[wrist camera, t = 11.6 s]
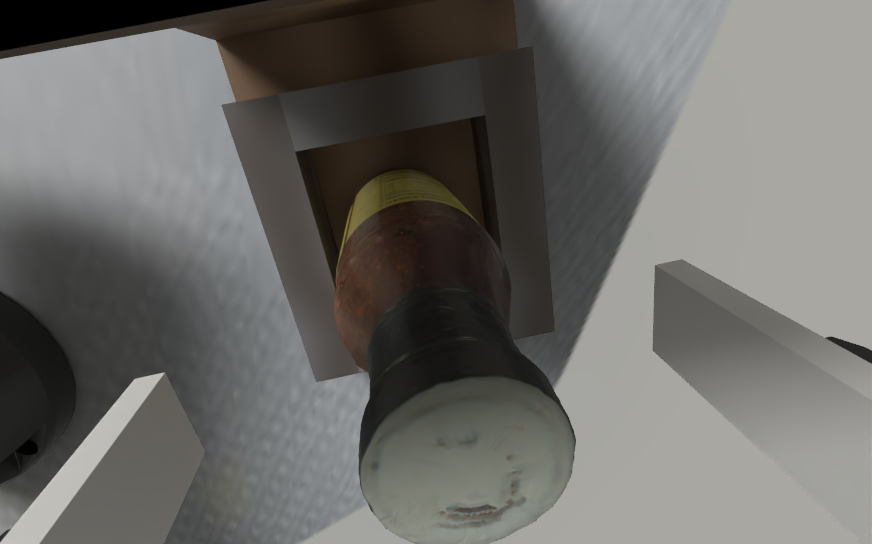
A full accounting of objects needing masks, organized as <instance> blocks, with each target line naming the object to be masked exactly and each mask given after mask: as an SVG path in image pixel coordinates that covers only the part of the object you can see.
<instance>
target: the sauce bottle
mask: <svg viewBox="0 0 872 544" xmlns="http://www.w3.org/2000/svg"><path fill="white" fill-rule="evenodd" d="M334 295H335V300H334V316H335V321H336V325H337V329H338V332H339V335H340V338H341V341H342V343H343V345H344V346H345V348H346V349H347V350H348V351H349V352H350V354H351V356H352V358H353V359H354V360H355V363H356V365H357V366H358V367H360V368H362V369H363V370H364V371H365V372H368V373H369V377H370V399H369V401H368V403H367V406H366V408H365V412H364V415H363V419H362V422H361V432H360V444H359V476H360V485H361V489H362V492H363V495H364V498H365V499H366V501H367V502H368V504H369V507H370V509H371V511H372V512H373V513H374V515H375V516H376V517H377V518H378V519H379V521H380V522H381V523H382V524H383V525H384V527H385V528H386V529H388V530H389V531H391V532H392V533H394V534H396V535H398V536H399V537H401V538H403V539H406V540H408V541H410V542H413V543H415V544H489V543H491V542H494V541H497V540H499V539H502V538H505V537H506V536H508V535H510V534H512V533H513V532H515V531H517V530H519V529H521V528H523V527H525V526H527V525H529V524H531V523H533V522H534V521H536V520H537V519H538V518H539V517H540V516H541V515H542V514H544V513H545V512H546V511H548V510H549V509H550V508H551V507H553V505H554V504H555V503H556V502H557V500H558V499H559V498H560V496H561V495H562V493H563V491H564V490H565V488H566V486H567V483H568V481H569V479H570V477H571V473H572V465H573V461H574V451H575V444H576V439H575V435H574V430H573V428H572V425H571V423H570V420H569V417H568V415H567V414H566V412H565V410H564V409H563V407H562V405H561V403H560V400H559V398H558V397H557V396H556V394H555V392H554V390H553V388H552V386H551V384H550V382H549V380H548V379H547V377H546V376H545V375H544V373H543V372H542V371H541V370H540V369H539V368H538V367H537V366H536V365H535V364H534V363H533V362H531V361H530V360H529V359H528V358H527V357H525V356H524V355H522V354H521V353H520V351H519V349H518V348H517V347H516V346H515V344H514V342H513V340H512V335H511V332H510V329H509V324H510V310H511V281H510V275H509V271H508V268H507V266H506V263H505V261H504V258H503V256H502V253H501V251H500V250H499V248H498V247H497V245H496V243H495V242H494V240H493V239H492V238H491V236H490V235H489V234H488V233H487V232H486V230H485V229H484V228H483V227H482V226H481V225H480V224H479V223H478V222H477V221H476V220H475V219H474V217H473V216H472V215H471V214H470V213H469V212H468V211H467V210H466V208H465V207H464V206H463V205H462V204H461V203H460V202H459V201H458V199H456V198H455V197H454V196H453V195H452V193H451V192H450V191H449V190H448V189H447V188H446V187H445V186H444V185H443V184H442V183H441V182H439V181H438V180H437V179H435V178H434V177H432V176H430V175H428V174H426V173H424V172H421V171H417V170H414V169H400V170H390V171H385V172H382V173H381V174H380V175H379V176H377V177H375V178H374V179H372V180H371V181H369V182H368V183H367V184H366V185H365V186H364V187H363V188H362V189H361V190H360V191H359V193H358V194H357V195H356V198H355V200H354V204H352V206H351V209H350V212H349V215H348V219H347V224H346V228H345V232H344V237H343V242H342V247H341V250H340V255H339V260H338V265H337V270H336V289H335V293H334Z"/></svg>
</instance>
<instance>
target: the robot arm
mask: <svg viewBox="0 0 872 544" xmlns="http://www.w3.org/2000/svg"><path fill="white" fill-rule="evenodd" d="M653 351H654V352H655V353H656V354H657V355H658V356H660V357H661V358H662V359H663V360H664V361H665V362H666V363H667V364H668V365H669V366H670V367H671V368H672V369H673V370H675V371H676V372H677V373H678V374H679V375H680V376H681V377H682V378H683V379H684V380H685V381H687V383H689V384H690V385H691V386H692V387H693V388H694V389H695V390H696V391H697V392H698V393H700V395H701V396H703V397H704V398H705V399H706V400H707V401H708V402H709V403H710V404H711V405H712V406H713V407H714V408H715V409H717V410H718V411H719V412H720V413H721V414H722V415H723V416H724V417H725V418H726V419H727V420H728V421H729V422H730V423H732V424H733V425H734V426H735V427H736V428H737V429H738V430H739V431H740V432H741V433H742V434H743V435H744V436H745V437H747V438H748V439H749V440H750V441H751V442H752V443H753V444H754V445H755V446H756V447H757V448H758V449H759V450H761V451H762V452H763V453H764V454H765V455H766V456H767V457H768V458H769V459H770V460H771V461H772V462H773V463H774V464H776V465H777V466H778V467H779V468H780V469H781V470H782V471H783V472H784V473H785V474H786V475H788V476H789V477H790V478H791V479H792V480H793V481H794V482H795V483H796V484H797V485H798V486H799V487H800V488H801V489H802V490H804V491H805V492H806V493H807V494H808V495H809V496H810V497H811V498H812V499H813V500H814V501H815V502H816V503H817V504H819V505H820V506H821V507H822V508H823V509H824V510H825V511H826V512H827V513H828V514H829V515H830V516H832V517H833V518H834V519H835V520H836V521H837V522H838V523H839V524H840V525H841V526H842V527H843V528H844V529H845V530H846V531H848V532H849V533H850V534H851V535H852V536H853V537H854V538H855V539H856V540H857V541H858V542H859V543H861V544H872V351H871V350H869V349H867V348H865V347H862V346H859V345H856V344H853V343H850V342H847V341H844V340H841V339H837V338H834V337H827V338H824V337H822V336H820V335H818V334H817V333H815V332H813V331H811V330H809V329H807V328H805V327H803V326H802V325H800V324H798V323H797V322H795V321H793V320H791V319H789V318H787V317H786V316H784V315H782V314H780V313H778V312H777V311H775V310H773V309H771V308H769V307H767V306H766V305H764V304H762V303H760V302H758V301H757V300H755V299H753V298H751V297H749V296H747V295H746V294H744V293H742V292H740V291H738V290H737V289H735V288H733V287H731V286H729V285H727V284H726V283H724V282H722V281H720V280H718V279H716V278H714V277H713V276H711V275H709V274H707V273H705V272H704V271H702V270H700V269H698V268H696V267H695V266H693V265H691V264H689V263H687V262H686V261H684V260H677V261H672V262H668V263H664V264H659V265H655V286H654V324H653ZM74 405H75V386H74V380H73V376H72V373H71V370H70V367H69V365H68V362H67V360H66V358H65V356H64V354H63V353H62V351H61V349H60V348H59V346H58V345H57V343H56V342H55V341H54V339H53V338H52V337H51V336H50V334H49V333H48V332H47V331H46V330H45V329H44V328H43V327H42V326H41V325H40V324H39V323H38V322H37V321H36V320H35V319H34V318H33V317H32V316H31V315H29V314H28V313H27V312H26V311H24V310H23V309H22V308H21V307H19V306H18V305H16V304H15V303H14V302H12V301H10V300H9V299H7V298H6V297H4V296H3V295H1V294H0V487H1V486H3V485H4V484H6V483H8V482H9V481H11V480H13V479H14V478H16V477H18V476H19V475H21V474H22V473H23V472H25V471H26V470H27V469H29V468H30V467H31V466H32V465H33V464H35V463H36V462H37V461H38V460H39V459H40V458H41V457H42V456H43V454H44V453H45V452H46V451H47V450H48V449H49V448H50V447H51V446H52V445H53V444H54V443H55V442H56V440H57V439H58V438H59V437H60V436H61V435H62V433H63V432H64V431H65V429H66V428H67V426H68V424H69V422H70V420H71V417H72V414H73V410H74ZM205 453H206V452H205V450H204V448H203V446H202V444H201V442H200V440H199V438H198V436H197V434H196V432H195V430H194V428H193V426H192V424H191V422H190V420H189V418H188V416H187V414H186V412H185V410H184V408H183V406H182V404H181V402H180V401H179V399H178V397H177V395H176V393H175V391H174V389H173V387H172V385H171V383H170V381H169V379H168V377H167V375H166V373H165V372H164V373H159V374H155V375H150V376H146V377H141V378H136V379H134V380H133V382H132V383H131V384H130V385H129V386H128V388H127V389H126V390H125V391H124V392H123V394H122V395H121V396H120V397H119V399H118V400H117V401H116V402H115V403H114V405H113V406H112V407H111V408H110V410H109V411H108V412H107V413H106V414H105V416H104V417H103V418H102V419H101V420H100V422H99V423H98V424H97V425H96V427H95V428H94V429H93V430H92V431H91V433H90V434H89V435H88V436H87V437H86V439H85V440H84V441H83V442H82V444H81V445H80V446H79V447H78V448H77V450H76V451H75V452H74V453H73V455H72V456H71V457H70V458H69V459H68V461H67V462H66V463H65V464H64V465H63V467H62V468H61V469H60V470H59V472H58V473H57V474H56V475H55V476H54V478H53V479H52V480H51V481H50V483H49V484H48V485H47V486H46V487H45V489H44V490H43V491H42V492H41V493H40V495H39V496H38V497H37V498H36V500H35V501H34V502H33V503H32V504H31V506H30V507H29V508H28V509H27V510H26V512H25V513H24V514H23V515H22V517H21V518H20V519H19V520H18V521H17V523H16V524H15V525H14V526H13V528H12V529H9V530H7V531H6V532H4V533H3V534H2V535H1V536H0V544H164V543H165V540H166V538H167V536H168V534H169V532H170V530H171V527H172V525H173V523H174V521H175V519H176V516H177V514H178V512H179V510H180V508H181V506H182V503H183V501H184V499H185V497H186V495H187V493H188V490H189V488H190V486H191V484H192V482H193V479H194V477H195V475H196V473H197V471H198V469H199V466H200V464H201V462H202V460H203V458H204V455H205Z"/></svg>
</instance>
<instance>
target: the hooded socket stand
mask: <svg viewBox="0 0 872 544" xmlns="http://www.w3.org/2000/svg"><path fill="white" fill-rule="evenodd" d="M170 28H177V29H181V30H184V31H187V32H190V33H194V34H197V35H200V36H203V37H207V38H210V39H213V40H216V42H217V45H218V48H219V51H220V54H221V57H222V60H223V63H224V66H225V69H226V72H227V75H228V78H229V81H230V84H231V87H232V90H233V93H234V96H235V99H236V102H234V103H229V104H224V105H222V108H223V111H224V114H225V117H226V120H227V123H228V126H229V128H230V131H231V134H232V137H233V140H234V143H235V146H236V149H237V152H238V155H239V158H240V161H241V163H242V166H243V169H244V172H245V175H246V178H247V181H248V184H249V187H250V190H251V193H252V196H253V199H254V201H255V204H256V207H257V210H258V213H259V216H260V219H261V222H262V225H263V228H264V231H265V234H266V236H267V239H268V242H269V245H270V248H271V251H272V254H273V257H274V260H275V263H276V266H277V269H278V271H279V274H280V277H281V280H282V283H283V286H284V289H285V292H286V295H287V298H288V301H289V304H290V307H291V309H292V312H293V315H294V318H295V321H296V324H297V327H298V330H299V333H300V336H301V339H302V342H303V344H304V347H305V350H306V353H307V356H308V359H309V362H310V365H311V368H312V371H313V374H314V377H315V379H316V382H319V381H324V380H329V379H333V378H338V377H343V376H347V375H352V374H357V373H361V372H365V371H364V370H363V369H362V368H360V367H358V366H357V365H356V363H355V360H354V359H353V358H352V356H351V354H350V352H349V351H348V350H347V349H346V348H345V346H344V345H343V343H342V341H341V338H340V335H339V332H338V329H337V325H336V321H335V316H334V300H335V295H334V293H335V289H336V270H337V265H338V260H339V255H340V250H341V247H342V242H343V237H344V232H345V228H346V224H347V219H348V215H349V212H350V209H351V206H352V204H354V200H355V198H356V195H357V194H358V193H359V191H360V190H361V189H362V188H363V187H364V186H365V185H366V184H367V183H368V182H369V181H371V180H372V179H374V178H375V177H377V176H379V175H380V174H381V173H382V172H385V171H390V170H400V169H414V170H417V171H421V172H424V173H426V174H428V175H430V176H432V177H434V178H435V179H437V180H438V181H439V182H441V183H442V184H443V185H444V186H445V187H446V188H447V189H448V190H449V191H450V192H451V193H452V195H453V196H454V197H455V198H456V199H458V201H459V202H460V203H461V204H462V205H463V206H464V207H465V208H466V210H467V211H468V212H469V213H470V214H471V215H472V216H473V217H474V219H475V220H476V221H477V222H478V223H479V224H480V225H481V226H482V227H483V228H484V229H485V230H486V232H487V233H488V234H489V235H490V236H491V238H492V239H493V240H494V242H495V243H496V245H497V247H498V248H499V250H500V251H501V253H502V256H503V258H504V261H505V263H506V266H507V268H508V271H509V275H510V281H511V310H510V324H509V329H510V332H511V335H512V340H515V339H519V338H524V337H529V336H533V335H538V334H543V333H547V332H552V331H554V318H553V305H552V292H551V280H550V267H549V254H548V241H547V228H546V216H545V203H544V190H543V177H542V164H541V152H540V139H539V126H538V113H537V100H536V88H535V75H534V62H533V49H532V47H527V48H522V49H517V38H516V27H515V16H514V5H513V0H0V59H3V58H8V57H14V56H20V55H25V54H31V53H36V52H42V51H47V50H53V49H58V48H64V47H70V46H75V45H81V44H86V43H92V42H97V41H103V40H108V39H114V38H120V37H125V36H131V35H136V34H142V33H147V32H153V31H158V30H164V29H170Z"/></svg>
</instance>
